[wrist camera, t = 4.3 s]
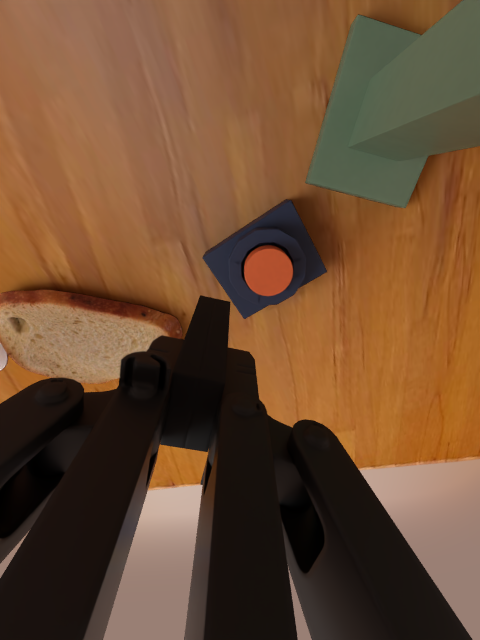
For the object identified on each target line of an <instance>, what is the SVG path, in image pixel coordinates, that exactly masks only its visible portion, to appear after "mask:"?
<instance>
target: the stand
mask: <svg viewBox="0 0 480 640" xmlns="http://www.w3.org/2000/svg"><path fill="white" fill-rule="evenodd" d="M477 146H480V0H463V1H461V2H460V3H459V4H458V5H457V6H455V7H454V8H453V9H452V10H451V11H450V12H448V13H447V14H446V15H445V16H444V17H443V18H441V19H440V20H439V21H438V22H437V23H436V24H434V25H433V26H432V27H431V28H430V29H428V30H427V31H426V32H425V33H424V34H423V35H420V34H417V33H414V32H411V31H407V30H404V29H401V28H398V27H395V26H392V25H389V24H386V23H383V22H380V21H377V20H374V19H371V18H368V17H365V16H362V15H358V16H357V17H356V19H355V20H354V21H353V23H352V24H351V27H350V31H349V34H348V37H347V41H346V44H345V48H344V51H343V55H342V58H341V62H340V65H339V68H338V72H337V75H336V79H335V82H334V86H333V89H332V92H331V96H330V99H329V103H328V106H327V110H326V113H325V116H324V120H323V123H322V127H321V130H320V134H319V137H318V140H317V144H316V147H315V151H314V154H313V158H312V161H311V164H310V168H309V171H308V175H307V178H306V182H305V183H306V184H310V185H314V186H318V187H322V188H325V189H329V190H333V191H337V192H341V193H345V194H348V195H352V196H356V197H360V198H364V199H368V200H371V201H375V202H379V203H383V204H387V205H391V206H394V207H399V208H406V206H407V204H408V201H409V199H410V197H411V195H412V192H413V190H414V188H415V185H416V183H417V181H418V179H419V176H420V174H421V172H422V169H423V167H424V165H425V163H426V160H427V158H428V156H429V155H435V154H440V153H445V152H450V151H456V150H461V149H466V148H471V147H477Z"/></svg>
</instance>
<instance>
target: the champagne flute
mask: <svg viewBox="0 0 480 640" xmlns="http://www.w3.org/2000/svg"><path fill="white" fill-rule="evenodd" d="M6 363H7V353H6V351H5V350H4V348H3V346H2V344H1V343H0V370H2V369H3V368H4V367H5V365H6Z"/></svg>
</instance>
